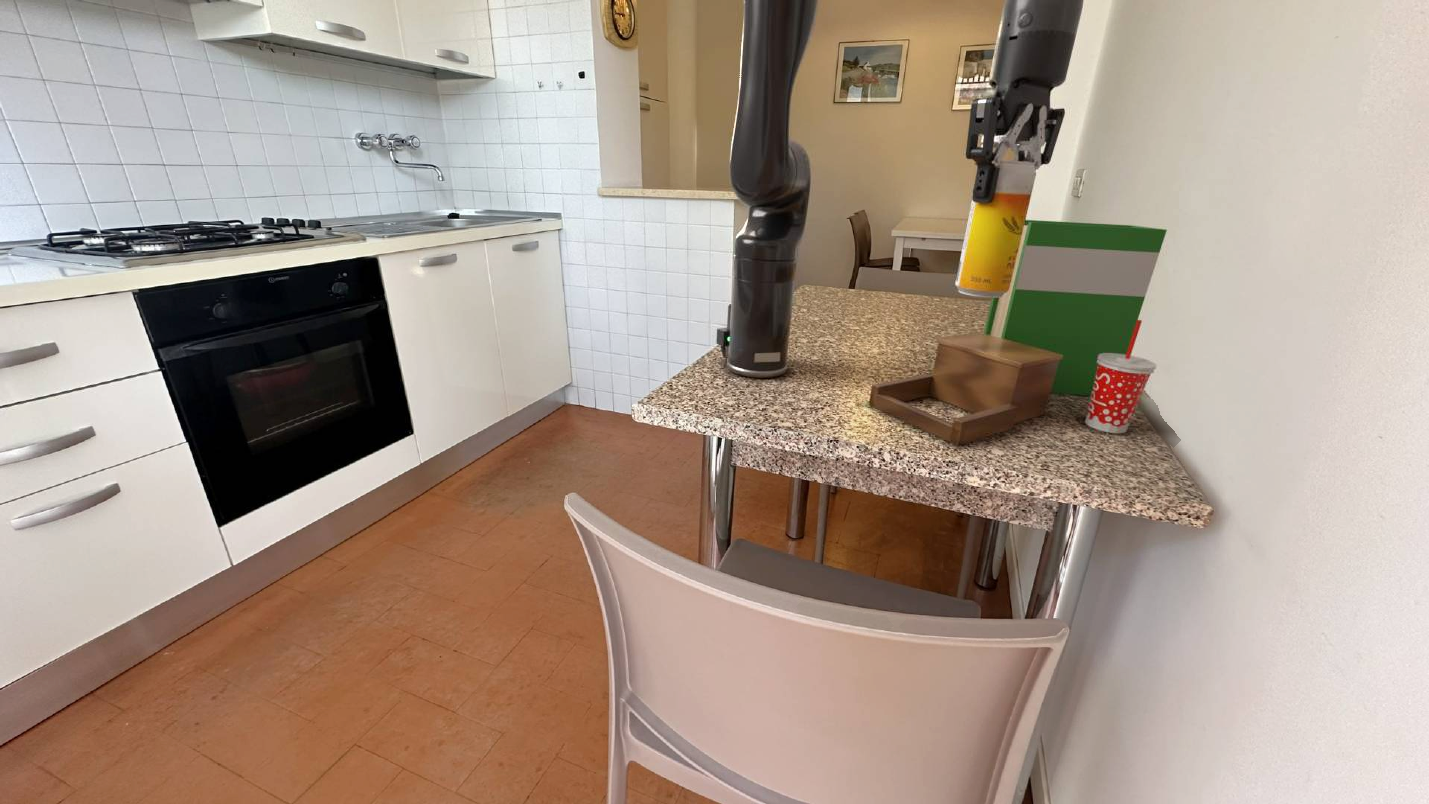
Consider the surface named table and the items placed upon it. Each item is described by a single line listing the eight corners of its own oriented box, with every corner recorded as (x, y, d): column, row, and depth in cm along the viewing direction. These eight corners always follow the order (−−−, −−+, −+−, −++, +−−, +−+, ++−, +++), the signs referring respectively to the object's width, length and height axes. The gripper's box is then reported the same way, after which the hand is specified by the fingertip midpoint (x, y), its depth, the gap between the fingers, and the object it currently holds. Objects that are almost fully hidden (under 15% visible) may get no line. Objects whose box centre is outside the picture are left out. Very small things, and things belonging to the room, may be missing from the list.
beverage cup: (1075, 413, 78) (1106, 312, 73) (1128, 422, 76) (1164, 319, 71) (1080, 429, 73) (1114, 321, 68) (1137, 439, 70) (1176, 329, 65)
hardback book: (991, 388, 86) (1031, 222, 77) (974, 373, 93) (1009, 219, 84) (1112, 396, 85) (1166, 229, 76) (1086, 380, 92) (1133, 225, 83)
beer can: (1013, 300, 67) (1046, 162, 62) (958, 296, 68) (986, 159, 63) (1000, 291, 73) (1029, 164, 67) (950, 287, 74) (974, 161, 68)
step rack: (868, 405, 77) (877, 345, 74) (962, 384, 87) (974, 330, 84) (957, 446, 66) (972, 377, 63) (1052, 416, 77) (1069, 356, 73)
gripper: (1040, 51, 67) (1006, 202, 73) (961, 30, 60) (932, 200, 66) (1108, 40, 61) (1065, 206, 67) (1030, 16, 54) (990, 204, 60)
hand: (999, 202), depth 66 cm, fingers closed on beer can, 6 cm apart
